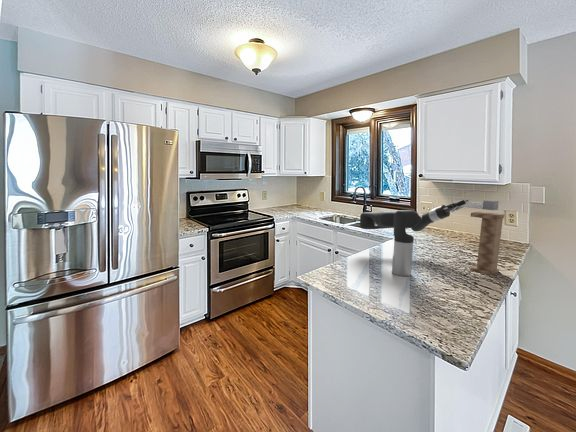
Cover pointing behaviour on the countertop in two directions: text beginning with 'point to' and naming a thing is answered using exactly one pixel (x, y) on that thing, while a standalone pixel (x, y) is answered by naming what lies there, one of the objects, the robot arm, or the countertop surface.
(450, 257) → the countertop surface
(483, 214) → the wooden pedestal
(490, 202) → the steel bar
